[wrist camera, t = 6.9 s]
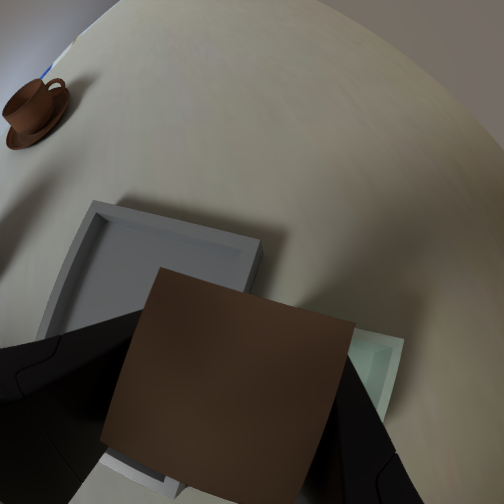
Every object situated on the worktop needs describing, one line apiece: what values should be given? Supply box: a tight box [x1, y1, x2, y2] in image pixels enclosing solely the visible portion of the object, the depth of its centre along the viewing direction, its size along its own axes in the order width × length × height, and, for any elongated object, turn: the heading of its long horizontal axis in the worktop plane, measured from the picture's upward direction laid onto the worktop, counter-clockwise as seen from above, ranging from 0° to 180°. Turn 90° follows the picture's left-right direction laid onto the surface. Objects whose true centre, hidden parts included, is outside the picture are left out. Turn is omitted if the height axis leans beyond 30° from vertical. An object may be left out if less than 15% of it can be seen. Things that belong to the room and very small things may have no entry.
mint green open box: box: [348, 328, 404, 423], centre depth 17 cm, size 8×8×4 cm
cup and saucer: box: [2, 78, 70, 150], centre depth 32 cm, size 12×12×6 cm
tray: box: [35, 200, 263, 500], centre depth 21 cm, size 19×15×2 cm
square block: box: [100, 267, 356, 504], centre depth 10 cm, size 4×4×10 cm
